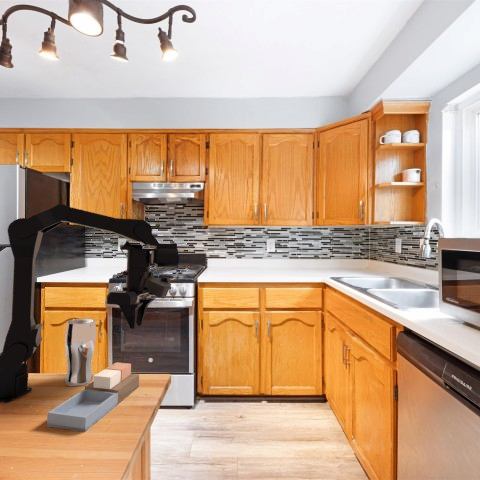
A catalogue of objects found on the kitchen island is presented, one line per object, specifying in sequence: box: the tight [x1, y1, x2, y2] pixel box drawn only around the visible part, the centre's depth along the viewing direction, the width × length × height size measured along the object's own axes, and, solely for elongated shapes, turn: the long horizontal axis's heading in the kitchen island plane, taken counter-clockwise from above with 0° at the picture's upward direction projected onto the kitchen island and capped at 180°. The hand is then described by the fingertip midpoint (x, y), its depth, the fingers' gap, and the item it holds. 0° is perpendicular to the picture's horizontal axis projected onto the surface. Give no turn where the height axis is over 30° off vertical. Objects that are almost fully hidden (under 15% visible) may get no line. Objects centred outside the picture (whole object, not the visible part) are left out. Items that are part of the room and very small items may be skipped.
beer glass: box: [64, 317, 97, 387], centre depth 78 cm, size 7×7×15 cm
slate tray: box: [46, 388, 119, 433], centre depth 62 cm, size 8×10×2 cm
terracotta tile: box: [105, 361, 132, 381], centre depth 73 cm, size 4×4×2 cm
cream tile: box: [93, 368, 121, 389], centre depth 69 cm, size 4×4×2 cm
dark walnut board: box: [84, 373, 140, 405], centre depth 71 cm, size 8×9×3 cm
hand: (136, 327), depth 81 cm, fingers open, 3 cm apart
